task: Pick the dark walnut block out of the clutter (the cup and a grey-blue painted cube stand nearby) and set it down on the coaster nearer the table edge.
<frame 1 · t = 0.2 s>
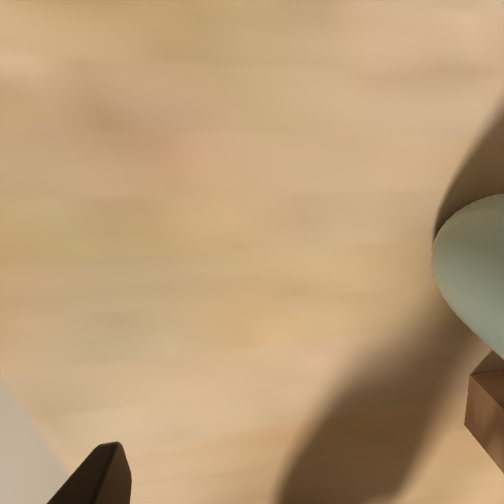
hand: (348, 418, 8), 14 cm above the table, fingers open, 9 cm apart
cup: (470, 243, 23), on the table
walnut block: (496, 394, 27), on the table
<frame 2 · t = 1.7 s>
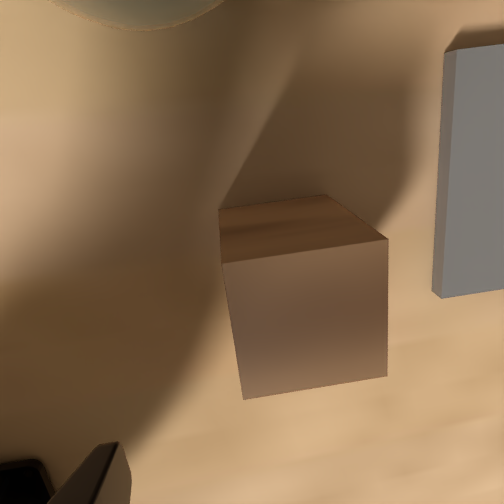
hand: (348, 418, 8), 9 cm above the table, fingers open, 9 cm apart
walnut block: (277, 252, 16), on the table
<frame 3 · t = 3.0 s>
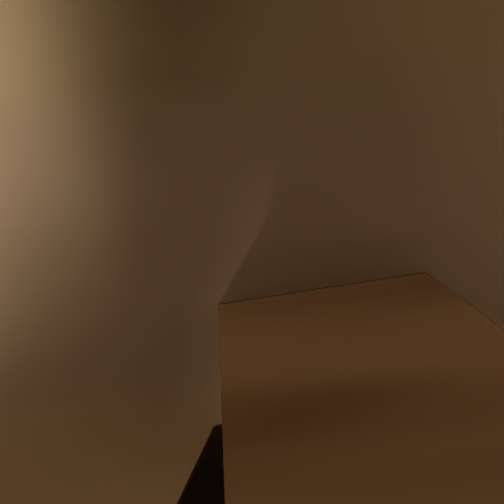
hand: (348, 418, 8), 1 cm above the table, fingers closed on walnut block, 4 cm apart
walnut block: (328, 375, 9), on the table, touching gripper
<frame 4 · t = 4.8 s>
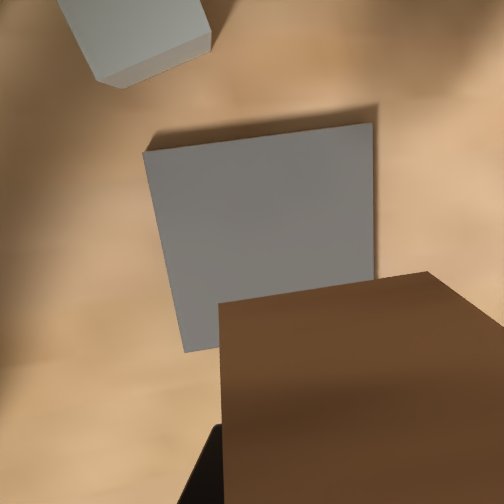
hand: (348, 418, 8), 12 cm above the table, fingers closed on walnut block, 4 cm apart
painted cube: (144, 19, 15), on the table
walnut block: (329, 374, 9), point 11 cm above the table, touching gripper
coaster: (268, 241, 19), on the table
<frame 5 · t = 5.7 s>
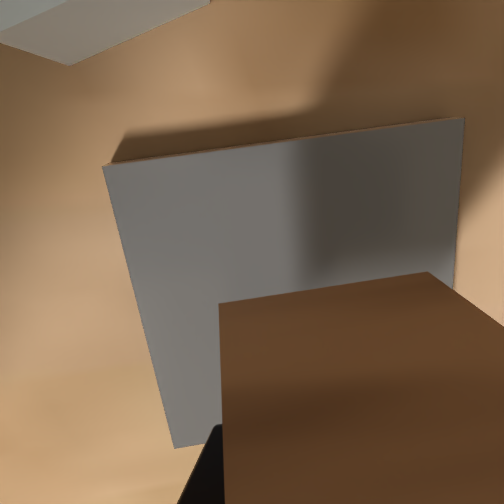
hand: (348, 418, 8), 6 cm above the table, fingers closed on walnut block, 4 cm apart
walnut block: (329, 374, 9), point 4 cm above the table, touching gripper
coaster: (296, 292, 13), on the table
when the fingers open (3 cm above the table, at t = 6.5 s): walnut block stays where it is, resting on coaster.
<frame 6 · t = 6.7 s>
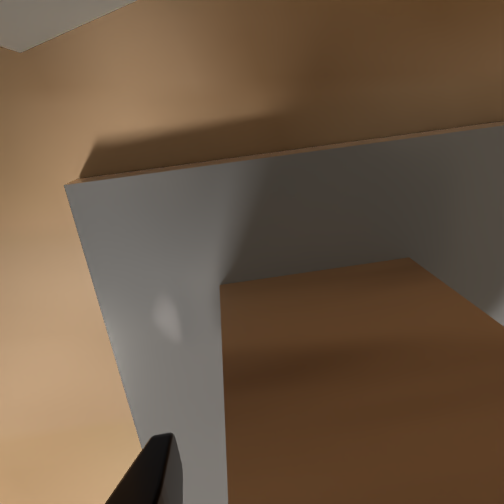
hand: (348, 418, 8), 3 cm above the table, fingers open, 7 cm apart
walnut block: (320, 352, 10), point 1 cm above the table, touching coaster
coaster: (313, 336, 10), on the table
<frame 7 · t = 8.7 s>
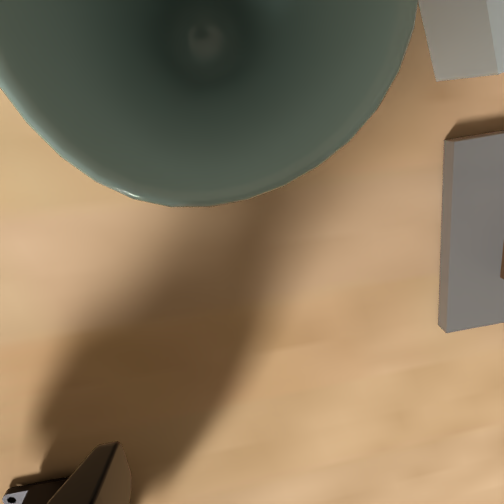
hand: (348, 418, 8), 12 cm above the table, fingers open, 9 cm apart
painted cube: (469, 12, 16), on the table
cup: (207, 54, 16), on the table
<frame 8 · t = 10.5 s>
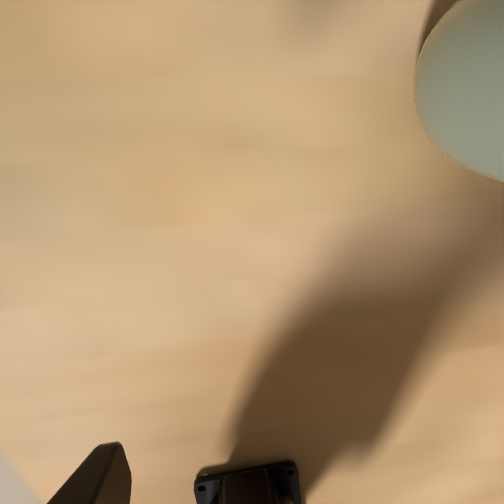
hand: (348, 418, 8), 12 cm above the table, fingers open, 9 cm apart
cup: (467, 81, 17), on the table
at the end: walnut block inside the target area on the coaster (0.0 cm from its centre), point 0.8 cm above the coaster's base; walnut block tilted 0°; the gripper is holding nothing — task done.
